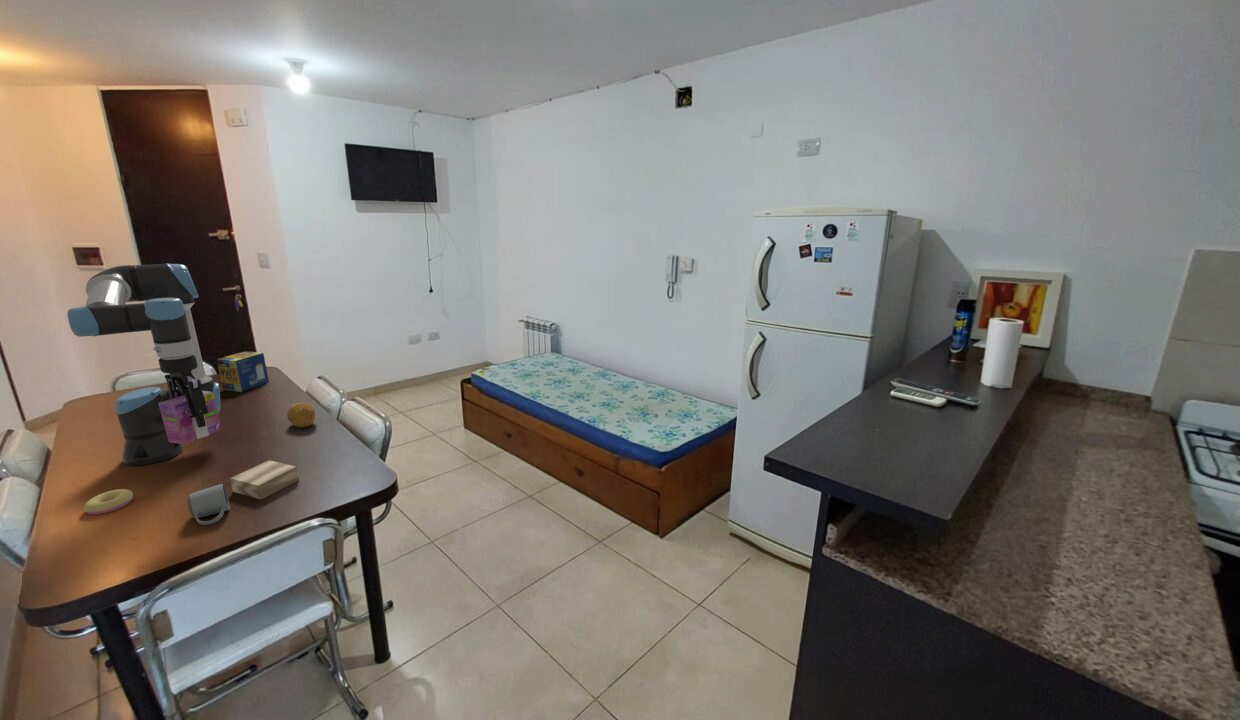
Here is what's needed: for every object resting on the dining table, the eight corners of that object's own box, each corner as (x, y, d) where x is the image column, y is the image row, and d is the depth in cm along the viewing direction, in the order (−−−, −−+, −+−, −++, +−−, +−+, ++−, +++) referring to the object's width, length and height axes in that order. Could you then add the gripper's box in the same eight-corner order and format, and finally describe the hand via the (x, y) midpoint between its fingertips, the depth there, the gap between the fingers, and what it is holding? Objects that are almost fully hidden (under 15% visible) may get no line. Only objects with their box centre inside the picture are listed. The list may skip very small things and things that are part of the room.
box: (184, 445, 130) (173, 404, 127) (168, 442, 131) (157, 402, 128) (222, 429, 140) (213, 391, 136) (207, 427, 141) (198, 389, 138)
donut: (142, 504, 142) (113, 498, 143) (143, 490, 142) (114, 484, 142) (104, 520, 132) (73, 513, 133) (104, 504, 132) (73, 497, 132)
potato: (287, 411, 182) (315, 403, 188) (281, 403, 192) (307, 396, 198) (294, 434, 185) (321, 425, 191) (288, 424, 195) (314, 416, 200)
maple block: (233, 492, 146) (229, 478, 145) (271, 473, 157) (269, 460, 155) (261, 500, 142) (258, 485, 141) (299, 480, 153) (296, 466, 152)
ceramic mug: (192, 512, 136) (186, 488, 133) (229, 502, 141) (223, 479, 138) (192, 531, 128) (185, 506, 126) (230, 519, 133) (225, 495, 131)
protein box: (222, 390, 227) (215, 359, 223) (251, 380, 242) (245, 350, 238) (241, 392, 226) (235, 360, 221) (269, 381, 240) (263, 352, 236)
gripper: (141, 354, 130) (162, 432, 136) (177, 364, 122) (198, 447, 128) (176, 348, 136) (194, 422, 143) (212, 357, 128) (230, 436, 135)
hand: (196, 434), depth 135 cm, fingers closed on box, 6 cm apart
